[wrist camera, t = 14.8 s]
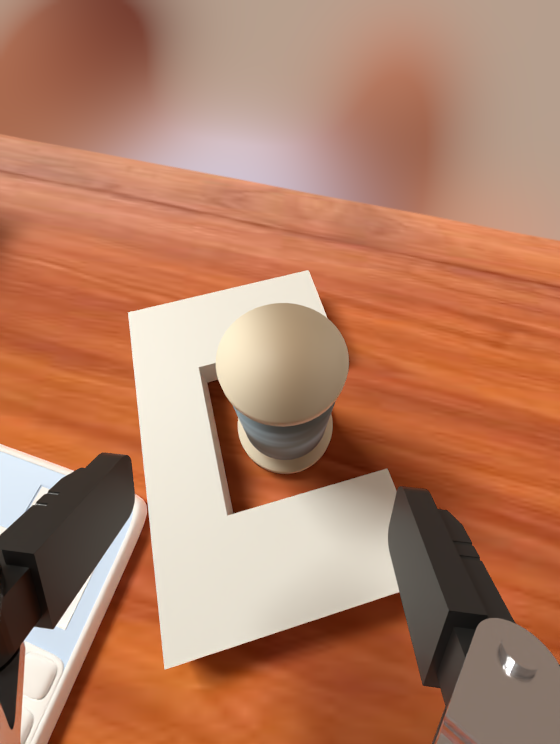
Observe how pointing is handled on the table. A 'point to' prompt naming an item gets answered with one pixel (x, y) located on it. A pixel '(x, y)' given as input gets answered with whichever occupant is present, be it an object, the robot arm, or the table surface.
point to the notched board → (213, 504)
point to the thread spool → (283, 383)
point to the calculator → (84, 615)
